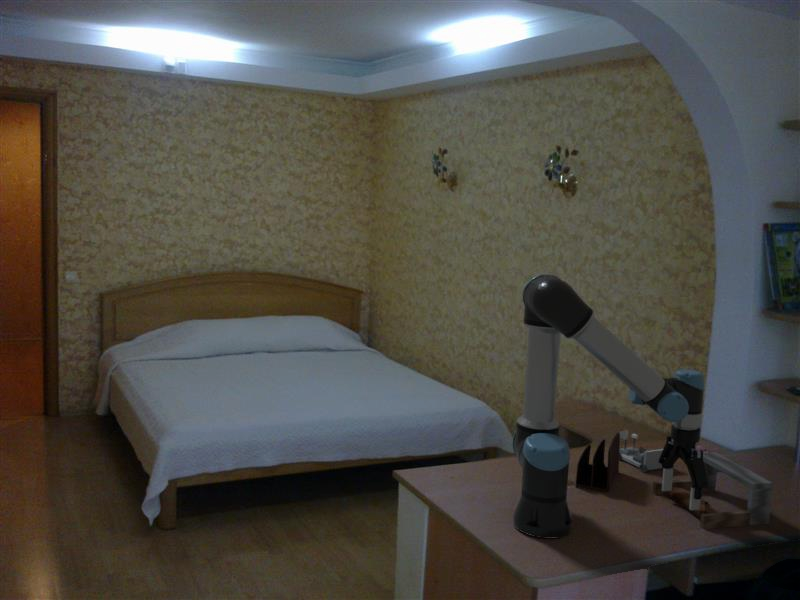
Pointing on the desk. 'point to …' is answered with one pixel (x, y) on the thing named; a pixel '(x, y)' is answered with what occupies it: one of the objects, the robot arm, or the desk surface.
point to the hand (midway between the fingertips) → (680, 499)
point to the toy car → (640, 455)
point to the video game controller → (702, 449)
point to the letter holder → (599, 467)
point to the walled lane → (709, 516)
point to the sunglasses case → (684, 499)
